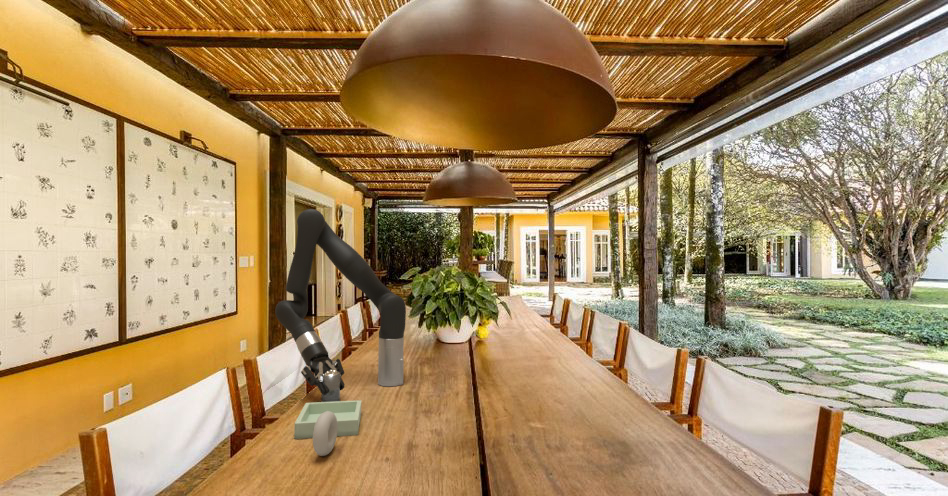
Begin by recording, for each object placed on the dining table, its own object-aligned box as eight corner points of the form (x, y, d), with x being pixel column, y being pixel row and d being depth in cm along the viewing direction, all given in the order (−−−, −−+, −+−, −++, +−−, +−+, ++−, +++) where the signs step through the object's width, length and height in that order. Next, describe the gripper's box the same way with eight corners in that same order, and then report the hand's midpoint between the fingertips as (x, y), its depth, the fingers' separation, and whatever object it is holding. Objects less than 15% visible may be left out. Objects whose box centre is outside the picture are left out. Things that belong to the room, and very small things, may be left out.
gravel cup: (340, 401, 142) (341, 367, 142) (338, 407, 136) (339, 372, 137) (322, 402, 141) (323, 368, 141) (320, 408, 135) (320, 373, 135)
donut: (325, 444, 110) (326, 405, 110) (339, 445, 110) (340, 405, 110) (309, 463, 100) (310, 420, 100) (324, 464, 100) (325, 420, 100)
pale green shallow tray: (361, 413, 132) (361, 400, 132) (357, 435, 116) (358, 419, 116) (305, 416, 129) (305, 402, 129) (294, 439, 113) (294, 423, 113)
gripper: (297, 345, 137) (321, 390, 130) (334, 338, 149) (358, 379, 142) (287, 359, 140) (309, 404, 133) (324, 351, 152) (346, 392, 145)
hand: (334, 391), depth 138 cm, fingers closed on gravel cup, 5 cm apart
